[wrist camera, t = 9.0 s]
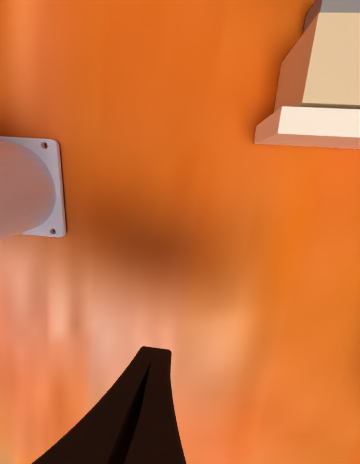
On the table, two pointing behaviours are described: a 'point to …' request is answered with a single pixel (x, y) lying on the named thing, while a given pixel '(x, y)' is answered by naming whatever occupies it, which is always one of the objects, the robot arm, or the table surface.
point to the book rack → (319, 82)
